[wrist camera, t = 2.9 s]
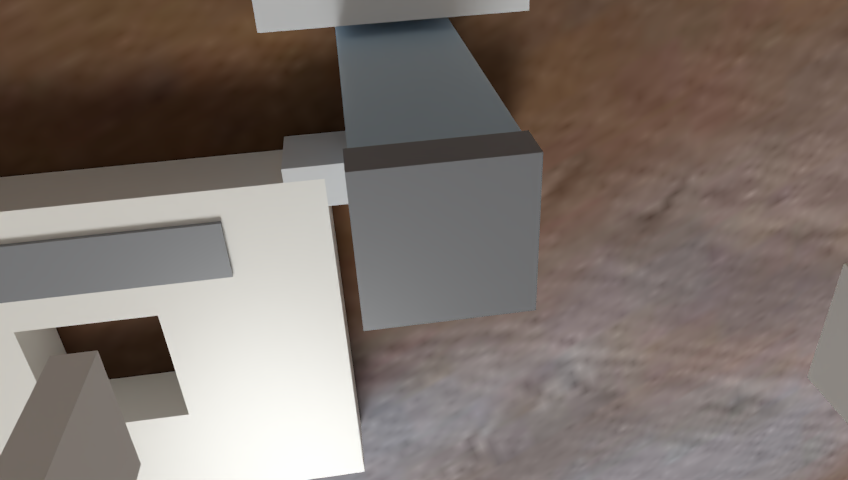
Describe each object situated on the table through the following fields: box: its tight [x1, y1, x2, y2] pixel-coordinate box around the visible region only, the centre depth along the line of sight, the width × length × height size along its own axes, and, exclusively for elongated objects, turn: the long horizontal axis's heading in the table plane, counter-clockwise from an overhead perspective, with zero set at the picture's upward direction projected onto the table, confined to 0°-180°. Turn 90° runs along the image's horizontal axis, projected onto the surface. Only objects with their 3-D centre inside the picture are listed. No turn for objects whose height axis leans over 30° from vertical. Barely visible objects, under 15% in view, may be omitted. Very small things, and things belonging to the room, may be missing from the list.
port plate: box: [0, 150, 365, 480], centre depth 30 cm, size 16×20×3 cm
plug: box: [335, 17, 543, 331], centre depth 21 cm, size 4×4×13 cm
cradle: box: [252, 0, 529, 206], centre depth 26 cm, size 8×9×3 cm
